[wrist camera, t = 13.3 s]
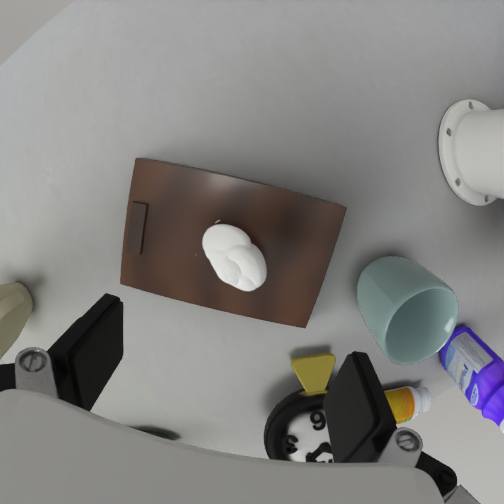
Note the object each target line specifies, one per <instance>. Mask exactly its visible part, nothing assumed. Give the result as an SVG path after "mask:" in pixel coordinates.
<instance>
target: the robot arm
mask: <svg viewBox="0 0 504 504" xmlns="http://www.w3.org/2000/svg"><path fill="white" fill-rule="evenodd" d="M438 144H439V155H440V161H441V165H442V169H443V172H444V175H445V177H446V179H447V181H448V184H449V185H450V187H451V188H452V190H453V191H454V192H455V193H456V195H457V196H458V197H459V198H461V199H462V200H463V201H465V202H467V203H470V204H472V205H477V206H485V205H488V204H490V203H492V202H493V201H495V200H496V199H497V198H501V199H504V109H497V110H490V109H489V108H488V107H487V106H486V105H484V104H483V103H481V102H479V101H476V100H472V99H466V100H461V101H458V102H456V103H454V104H453V105H452V106H450V107H449V108H448V110H447V111H446V113H445V114H444V117H443V119H442V122H441V126H440V130H439V141H438ZM122 357H123V302H121V301H120V298H119V297H117V296H114V295H111V294H108V293H106V294H105V295H104V296H103V297H102V298H100V299H99V300H98V301H97V302H96V303H95V304H94V305H93V306H92V307H91V308H90V309H89V310H88V311H87V312H86V313H85V314H84V315H83V316H82V317H80V318H79V319H77V320H76V321H75V322H74V323H73V324H72V325H71V327H70V328H69V329H68V330H67V331H66V332H65V333H64V334H63V335H62V336H61V337H60V338H59V339H58V340H57V341H56V342H55V343H54V344H53V345H52V346H51V347H50V348H49V349H48V351H47V352H46V351H45V350H43V349H40V348H37V347H30V348H26V349H24V350H22V351H21V352H19V353H18V355H17V356H16V359H15V363H11V364H2V365H0V504H480V503H479V502H478V501H477V500H476V499H475V498H474V497H473V496H472V495H471V494H470V493H469V492H468V491H467V490H466V489H465V488H463V486H462V485H459V486H457V476H456V474H455V472H454V471H453V470H452V469H451V468H450V467H448V466H446V465H445V464H443V463H441V462H440V461H438V460H436V459H435V458H433V457H431V456H429V455H428V454H426V453H424V452H423V451H422V448H423V442H422V439H421V437H420V435H419V434H418V433H417V432H415V431H414V430H412V429H410V428H406V427H401V428H398V429H397V426H396V423H397V422H396V419H395V417H394V414H393V412H392V409H391V407H390V405H389V402H388V400H387V397H386V395H385V393H384V390H383V388H382V386H381V384H380V381H379V379H378V377H377V374H376V372H375V370H374V368H373V365H372V363H371V361H370V359H369V357H368V355H367V353H363V352H356V351H354V352H352V353H351V354H348V355H347V357H346V359H345V361H344V363H343V365H342V366H341V368H340V370H339V372H338V374H337V376H336V377H335V379H334V381H333V383H332V385H331V386H330V388H329V390H328V392H327V393H326V395H325V397H324V400H323V407H324V412H325V417H326V423H327V428H328V433H329V439H330V444H331V450H332V455H333V461H334V463H315V462H295V461H283V460H273V459H264V458H256V457H249V456H242V455H236V454H230V453H224V452H219V451H214V450H209V449H204V448H200V447H196V446H191V445H187V444H183V443H180V442H176V441H172V440H168V439H165V438H161V437H158V436H155V435H152V434H148V433H145V432H142V431H139V430H136V429H133V428H131V427H128V426H125V425H122V424H120V423H117V422H114V421H112V420H109V419H106V418H104V417H101V416H99V415H96V414H94V413H91V412H90V410H91V409H92V407H93V405H94V404H95V402H96V400H97V399H98V397H99V395H100V394H101V392H102V390H103V389H104V387H105V385H106V384H107V382H108V380H109V379H110V377H111V376H112V374H113V372H114V371H115V369H116V368H117V366H118V364H119V363H120V361H121V359H122Z"/></svg>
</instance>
